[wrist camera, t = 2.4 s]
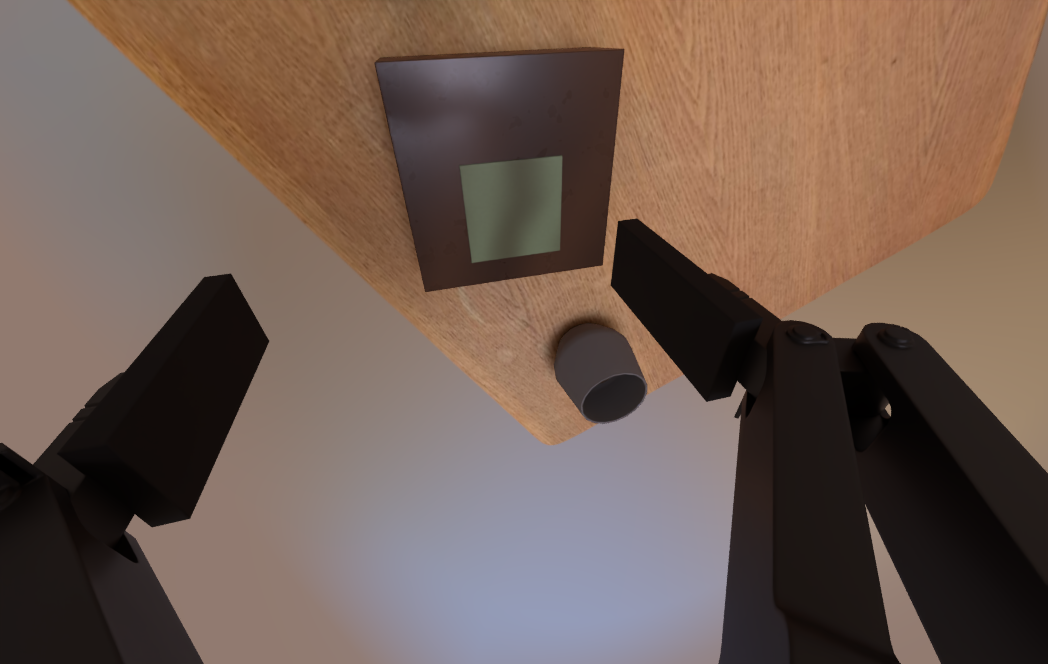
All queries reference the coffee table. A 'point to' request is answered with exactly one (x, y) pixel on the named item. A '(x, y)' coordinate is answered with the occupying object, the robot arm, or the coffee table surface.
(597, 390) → the cup
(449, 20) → the coffee table surface
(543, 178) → the dark wooden box
